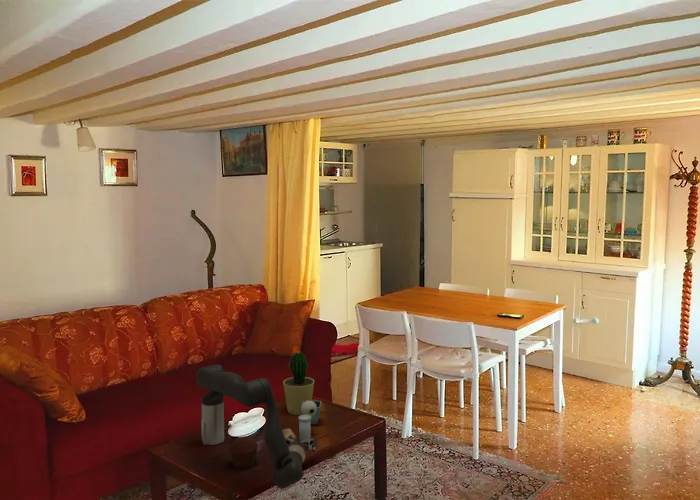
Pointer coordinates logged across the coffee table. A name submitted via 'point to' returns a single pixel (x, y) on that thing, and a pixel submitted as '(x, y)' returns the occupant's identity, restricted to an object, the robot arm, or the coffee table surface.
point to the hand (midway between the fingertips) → (301, 437)
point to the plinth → (289, 432)
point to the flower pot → (316, 417)
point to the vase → (304, 427)
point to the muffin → (243, 452)
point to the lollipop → (309, 408)
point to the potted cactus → (298, 385)
